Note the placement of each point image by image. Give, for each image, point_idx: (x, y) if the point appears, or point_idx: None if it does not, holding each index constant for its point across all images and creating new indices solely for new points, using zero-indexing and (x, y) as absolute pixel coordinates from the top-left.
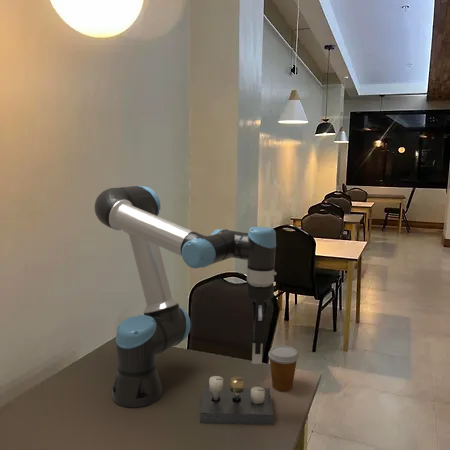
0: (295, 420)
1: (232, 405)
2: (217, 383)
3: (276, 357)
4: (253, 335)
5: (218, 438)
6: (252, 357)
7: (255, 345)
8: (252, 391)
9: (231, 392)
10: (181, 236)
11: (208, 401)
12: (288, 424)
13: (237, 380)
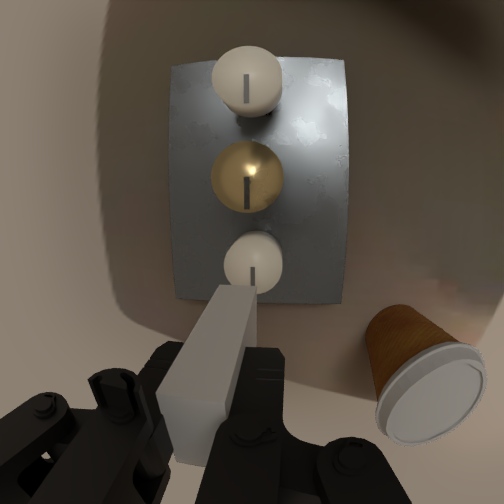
0: None
1: None
2: (213, 85)
3: (406, 384)
4: (281, 442)
5: (119, 138)
6: (213, 303)
7: (155, 389)
8: (241, 244)
9: (310, 158)
10: None
11: None
12: None
13: (241, 179)
